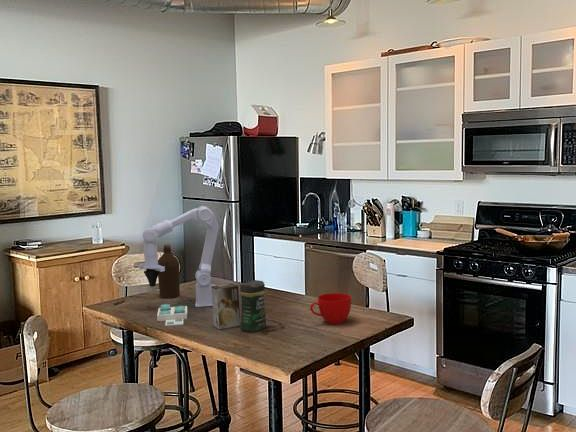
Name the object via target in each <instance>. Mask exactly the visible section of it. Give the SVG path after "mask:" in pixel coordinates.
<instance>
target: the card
mask: <svg viewBox="0 0 576 432" xmlns="http://www.w3.org/2000/svg"><path fill="white" fill-rule="evenodd" d="M181 325H183V326H184V319H175V320H166V321H165V325H164V326H165V327H169V326H181Z"/></svg>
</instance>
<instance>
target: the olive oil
mask: <svg viewBox="0 0 576 432" xmlns="http://www.w3.org/2000/svg"><path fill="white" fill-rule="evenodd" d="M171 247H172V246H171V244H163V253H162V255H161V256H160V257H158V265H160V266H164V267H165V271H162V272H160V273H159V275H158V277H157V282H158V287H159V288H158V289H159V297H160V298H161V299H165V300H166V299H167V300H168V299H175V298H178V297H180V295H181V287H180V286H181V285H180V283H181V282H180V281H181V280H180V268H181V267H180V262H179V259H178V258H177V256H176V255H174V254H173V253H172V248H171Z"/></svg>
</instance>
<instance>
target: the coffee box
mask: <svg viewBox="0 0 576 432" xmlns="http://www.w3.org/2000/svg"><path fill="white" fill-rule="evenodd" d="M215 285H216V286H211V288H212V304H213V306H212V318H213V327H215V328H216V329H218V330H223V329H229V328H235V327H241V310H240V294H239V292H240V290H239V285H238V284H236V283H233V282H232V283H225V284H215Z"/></svg>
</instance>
